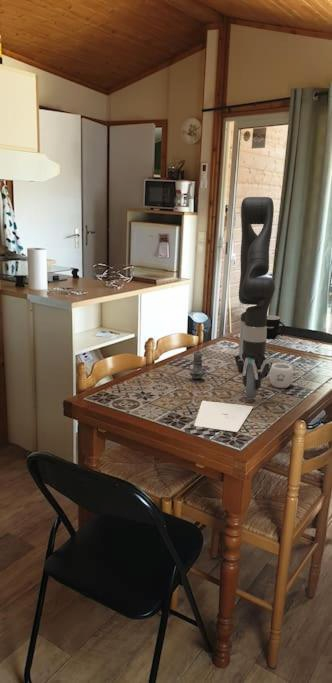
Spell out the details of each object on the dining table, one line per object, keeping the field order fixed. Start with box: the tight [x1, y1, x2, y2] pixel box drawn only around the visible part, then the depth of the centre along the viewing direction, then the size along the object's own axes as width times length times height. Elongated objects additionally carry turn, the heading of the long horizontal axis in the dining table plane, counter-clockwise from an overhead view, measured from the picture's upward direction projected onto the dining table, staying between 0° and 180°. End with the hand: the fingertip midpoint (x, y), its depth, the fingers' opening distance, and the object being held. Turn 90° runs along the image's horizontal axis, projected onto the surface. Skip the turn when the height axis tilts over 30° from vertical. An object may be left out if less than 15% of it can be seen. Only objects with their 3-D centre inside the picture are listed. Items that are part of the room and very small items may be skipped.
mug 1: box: [266, 314, 286, 340], centre depth 262 cm, size 12×9×10 cm
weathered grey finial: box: [189, 349, 206, 384], centre depth 200 cm, size 6×6×12 cm
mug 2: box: [268, 362, 304, 389], centre depth 196 cm, size 12×8×8 cm
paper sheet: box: [193, 400, 254, 433], centre depth 172 cm, size 24×29×1 cm
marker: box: [244, 357, 258, 399], centre depth 181 cm, size 4×4×14 cm
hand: (251, 387), depth 182 cm, fingers closed on marker, 3 cm apart
